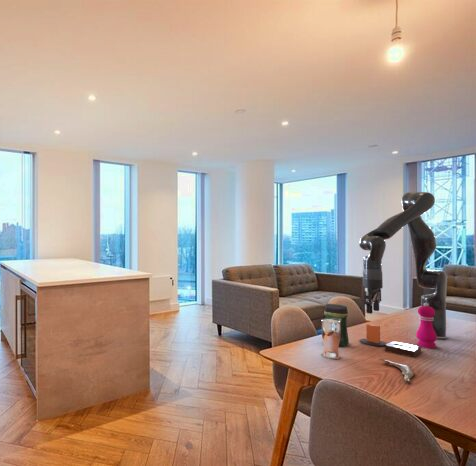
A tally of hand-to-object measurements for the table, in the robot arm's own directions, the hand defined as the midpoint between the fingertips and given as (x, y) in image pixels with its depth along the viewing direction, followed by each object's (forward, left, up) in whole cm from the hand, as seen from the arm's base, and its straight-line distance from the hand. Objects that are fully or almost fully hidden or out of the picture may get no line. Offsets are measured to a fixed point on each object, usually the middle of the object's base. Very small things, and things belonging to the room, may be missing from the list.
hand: (372, 312), depth 159 cm
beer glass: (+35, -4, -15) cm, 38 cm away
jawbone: (+34, +17, -15) cm, 41 cm away
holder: (+3, +12, -15) cm, 19 cm away
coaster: (0, 0, -15) cm, 15 cm away
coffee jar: (+15, -10, -15) cm, 24 cm away
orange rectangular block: (0, 0, -14) cm, 14 cm away
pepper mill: (-15, +16, -15) cm, 27 cm away
